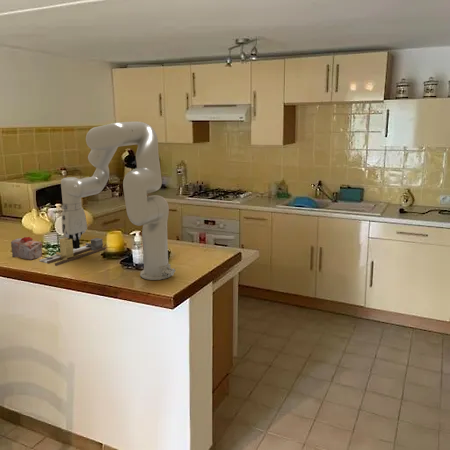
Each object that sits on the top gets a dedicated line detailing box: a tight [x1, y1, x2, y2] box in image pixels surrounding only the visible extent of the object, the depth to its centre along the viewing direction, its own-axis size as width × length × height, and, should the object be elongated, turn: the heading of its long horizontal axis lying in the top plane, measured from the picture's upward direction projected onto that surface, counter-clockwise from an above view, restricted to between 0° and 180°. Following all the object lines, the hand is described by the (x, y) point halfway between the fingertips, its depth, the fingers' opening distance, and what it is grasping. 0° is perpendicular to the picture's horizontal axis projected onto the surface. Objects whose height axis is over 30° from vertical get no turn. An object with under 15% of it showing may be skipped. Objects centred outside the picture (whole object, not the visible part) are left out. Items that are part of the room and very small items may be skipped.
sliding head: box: [55, 237, 75, 261], centre depth 197 cm, size 9×4×9 cm, turn 57°
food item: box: [10, 236, 43, 261], centre depth 201 cm, size 14×8×10 cm, turn 63°
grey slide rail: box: [39, 237, 107, 267], centre depth 203 cm, size 12×30×6 cm, turn 147°
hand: (75, 248), depth 200 cm, fingers closed
